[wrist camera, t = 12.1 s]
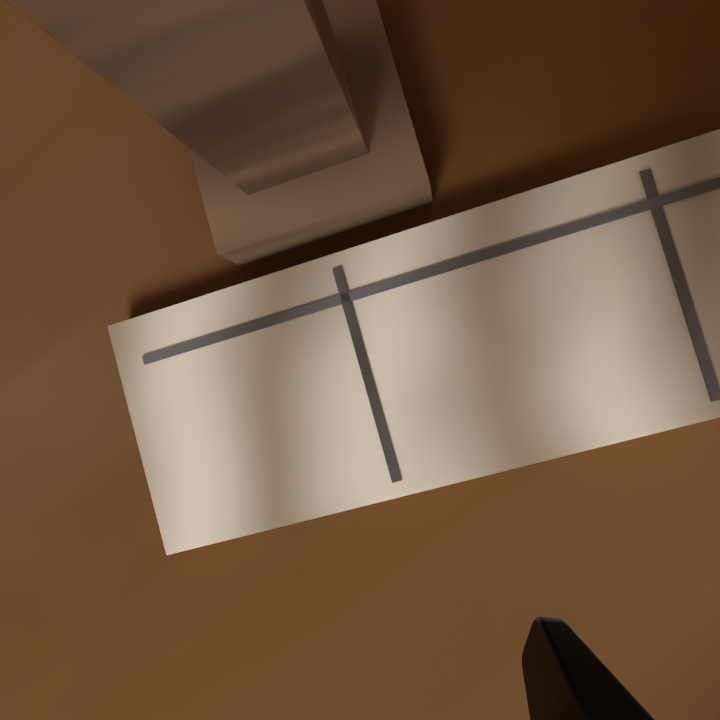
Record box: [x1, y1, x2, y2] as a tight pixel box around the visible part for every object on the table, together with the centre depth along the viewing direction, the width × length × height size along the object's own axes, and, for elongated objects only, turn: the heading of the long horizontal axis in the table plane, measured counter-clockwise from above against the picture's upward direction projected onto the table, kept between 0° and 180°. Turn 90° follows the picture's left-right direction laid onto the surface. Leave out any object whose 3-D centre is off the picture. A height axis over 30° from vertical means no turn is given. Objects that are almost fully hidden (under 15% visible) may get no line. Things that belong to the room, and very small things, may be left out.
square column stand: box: [7, 0, 433, 265], centre depth 14 cm, size 7×7×14 cm
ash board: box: [107, 129, 720, 555], centre depth 19 cm, size 26×8×1 cm, turn 106°
